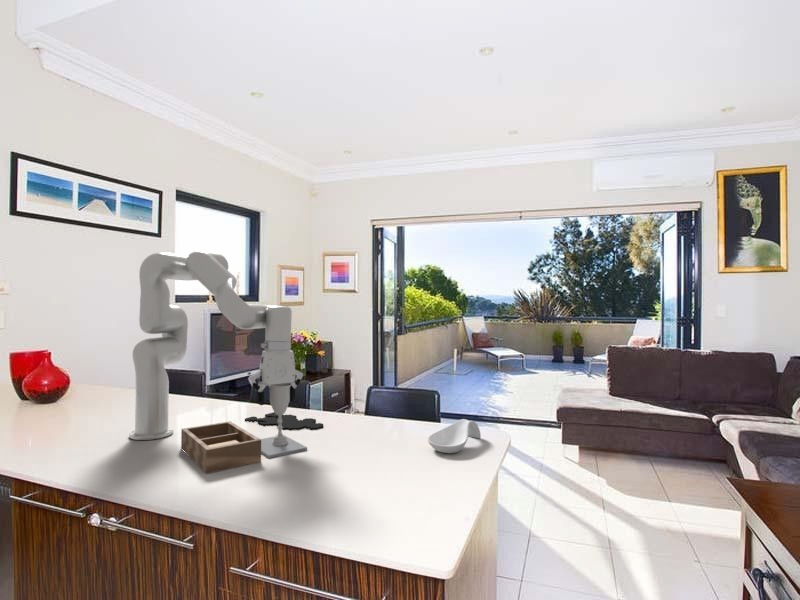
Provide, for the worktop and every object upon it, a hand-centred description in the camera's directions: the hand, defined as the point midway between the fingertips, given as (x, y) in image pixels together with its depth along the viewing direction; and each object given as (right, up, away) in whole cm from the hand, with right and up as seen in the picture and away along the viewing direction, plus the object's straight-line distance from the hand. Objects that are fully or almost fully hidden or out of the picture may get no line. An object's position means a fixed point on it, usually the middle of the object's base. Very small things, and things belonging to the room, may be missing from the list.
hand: (275, 402), depth 139 cm
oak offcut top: (-11, -12, -12) cm, 20 cm away
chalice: (+1, -13, +1) cm, 13 cm away
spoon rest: (+56, -15, +4) cm, 58 cm away
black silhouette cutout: (-3, -14, +28) cm, 31 cm away
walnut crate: (-14, -13, -8) cm, 21 cm away
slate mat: (0, -14, 0) cm, 14 cm away
